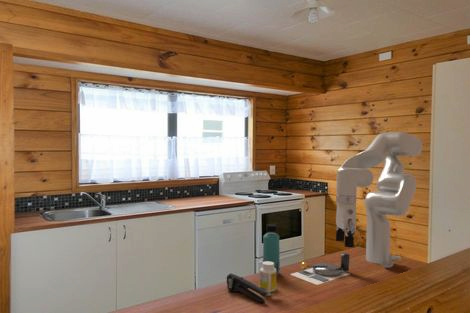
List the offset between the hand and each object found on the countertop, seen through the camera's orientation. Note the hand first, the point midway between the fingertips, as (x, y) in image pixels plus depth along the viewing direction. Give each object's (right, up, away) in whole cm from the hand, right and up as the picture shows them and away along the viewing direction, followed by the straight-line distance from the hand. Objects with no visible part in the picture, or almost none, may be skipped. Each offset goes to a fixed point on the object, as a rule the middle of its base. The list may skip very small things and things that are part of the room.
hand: (344, 243), depth 135 cm
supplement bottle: (-31, -12, -18) cm, 38 cm away
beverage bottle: (-29, -12, -2) cm, 31 cm away
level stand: (-10, -13, -2) cm, 16 cm away
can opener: (-39, -13, -19) cm, 45 cm away
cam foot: (-7, -11, 0) cm, 13 cm away
